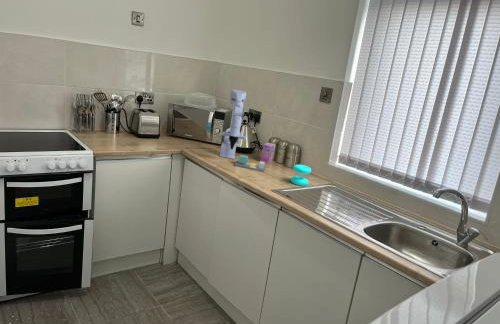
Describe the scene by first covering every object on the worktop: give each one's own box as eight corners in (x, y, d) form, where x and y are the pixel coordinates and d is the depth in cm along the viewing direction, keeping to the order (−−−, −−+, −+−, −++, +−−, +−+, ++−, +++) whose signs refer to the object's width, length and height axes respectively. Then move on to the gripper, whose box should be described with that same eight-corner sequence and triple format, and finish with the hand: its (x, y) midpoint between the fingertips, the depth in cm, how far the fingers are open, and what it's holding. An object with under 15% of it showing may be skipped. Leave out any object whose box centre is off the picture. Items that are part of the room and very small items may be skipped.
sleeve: (238, 162, 230) (239, 156, 229) (239, 160, 235) (240, 154, 234) (246, 163, 230) (247, 157, 229) (247, 162, 234) (248, 156, 233)
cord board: (234, 165, 227) (235, 159, 226) (237, 161, 239) (238, 155, 238) (264, 172, 226) (265, 165, 225) (265, 167, 237) (266, 161, 236)
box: (268, 163, 248) (271, 146, 246) (259, 161, 250) (263, 144, 247) (272, 161, 258) (275, 144, 255) (264, 159, 260) (267, 142, 257)
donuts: (307, 165, 219) (314, 170, 210) (303, 181, 222) (310, 187, 212) (291, 163, 216) (298, 168, 207) (287, 179, 219) (294, 185, 209)
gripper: (222, 125, 225) (218, 147, 228) (246, 130, 224) (242, 152, 227) (224, 124, 232) (221, 145, 235) (248, 128, 231) (244, 150, 234)
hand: (231, 148), depth 231 cm, fingers closed
